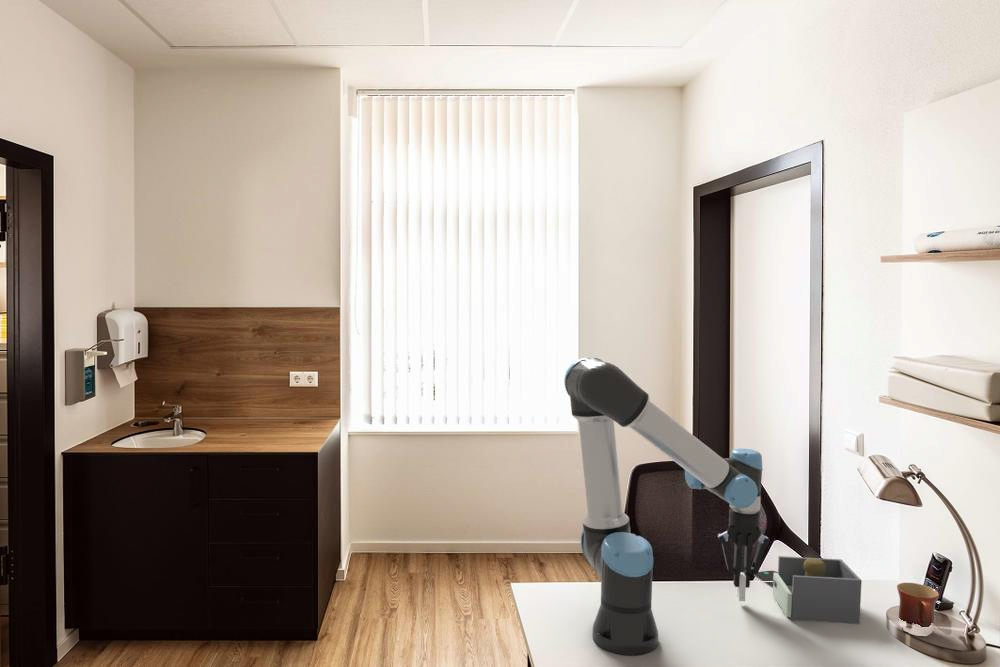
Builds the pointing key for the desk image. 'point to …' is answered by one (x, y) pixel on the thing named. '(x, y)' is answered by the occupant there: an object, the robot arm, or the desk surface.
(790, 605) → the pale green drawer
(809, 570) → the cork
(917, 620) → the mug
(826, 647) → the desk surface
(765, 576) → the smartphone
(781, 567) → the grey drawer box
